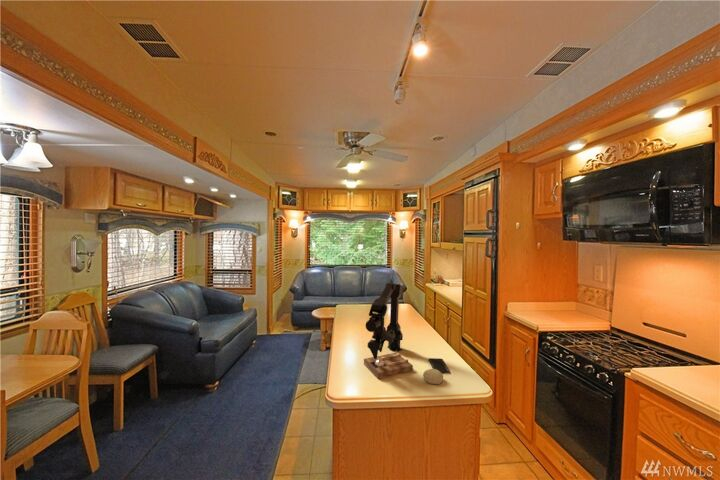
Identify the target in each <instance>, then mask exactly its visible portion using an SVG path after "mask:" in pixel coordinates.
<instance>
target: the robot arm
mask: <svg viewBox="0 0 720 480" xmlns="http://www.w3.org/2000/svg"><path fill="white" fill-rule="evenodd" d="M403 290H404V287H403V286H402V284H400V283H394V282H387V283H385V287H384V288H383V290H382V291H381V294H380V296H379V297H378V298H375V300H374V301H373V302H372V303H371V305H370V309H369V313H368V317H369V319H368V320H367V321H366V323H365V329H366V331H368V332H370V333H373V334H372V336H371V339H370V340H369V341H368V342H367V348H368V349H369V350H370V352H371V354H372V357H374V359H377V356H379V355H378V353H382V352H383V347H384V344H385V342H387V343H388V344H387V345H388V346H387V348H388V349H389V350H391V351H392V352H395V351H400V350H401V351H402V350H403V349H402V347H401V341H403V335H404V334H403V332H402V330H401V325H400V323H399V307H400V306H399V304H400V303H399V302H400V301H399V299H400V298H401V296H402V295H403V294H402V293H403ZM389 300H390V313H389V315H390V317H389V318H390V319H389V323H388V325H387V326H386V327H385V316H386V314H387V311H388V302H389Z"/></svg>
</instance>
